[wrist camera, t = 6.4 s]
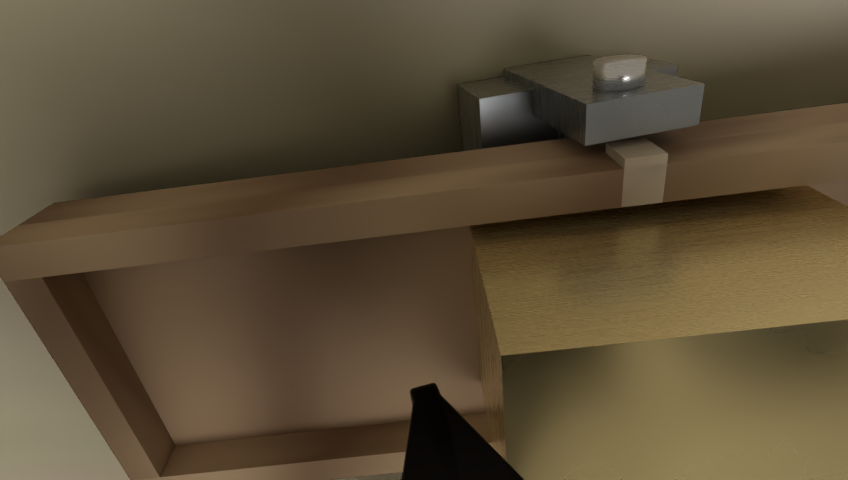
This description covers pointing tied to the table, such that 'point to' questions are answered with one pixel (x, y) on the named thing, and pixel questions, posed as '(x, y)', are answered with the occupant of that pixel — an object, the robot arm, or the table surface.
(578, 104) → the pivot stand
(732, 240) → the block
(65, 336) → the brown long shallow tray
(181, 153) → the table surface
